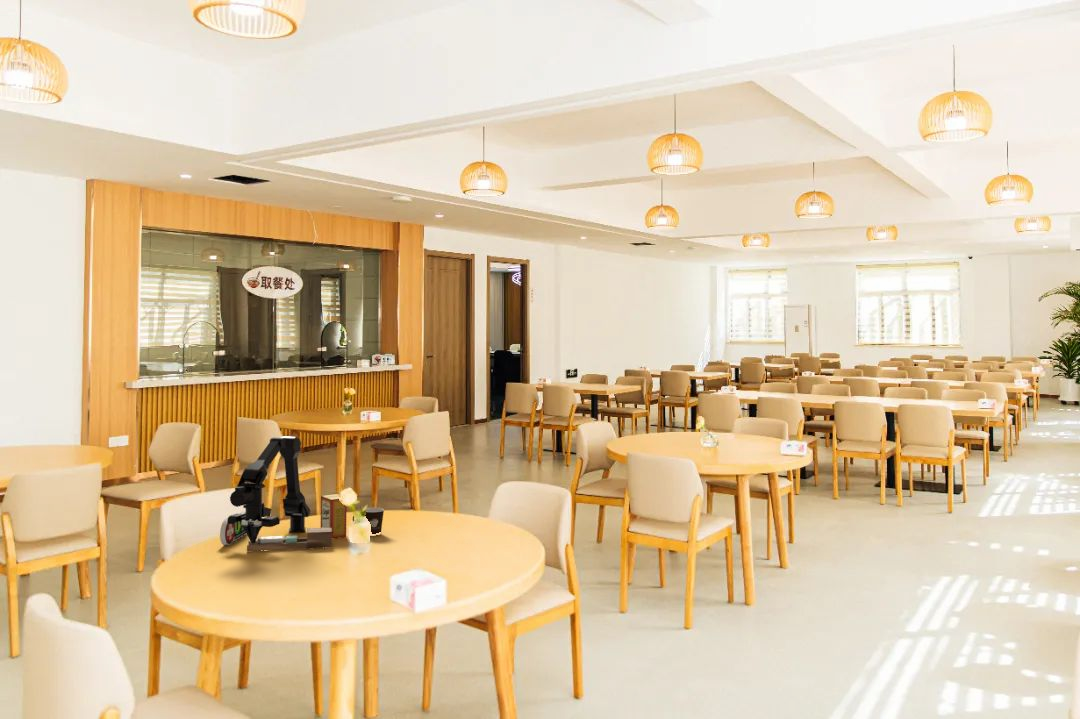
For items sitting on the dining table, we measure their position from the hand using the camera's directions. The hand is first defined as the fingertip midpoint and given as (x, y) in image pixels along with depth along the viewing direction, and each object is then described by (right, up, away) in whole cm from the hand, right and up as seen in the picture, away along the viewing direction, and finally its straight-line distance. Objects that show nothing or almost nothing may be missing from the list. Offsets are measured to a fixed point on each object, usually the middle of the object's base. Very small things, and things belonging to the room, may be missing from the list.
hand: (253, 543), depth 289 cm
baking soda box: (+24, -3, +22) cm, 33 cm away
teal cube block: (+13, -3, +4) cm, 14 cm away
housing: (+13, -2, +4) cm, 13 cm away
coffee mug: (+38, -3, +25) cm, 45 cm away
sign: (-12, -2, +13) cm, 18 cm away
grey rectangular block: (+6, -2, +2) cm, 6 cm away
